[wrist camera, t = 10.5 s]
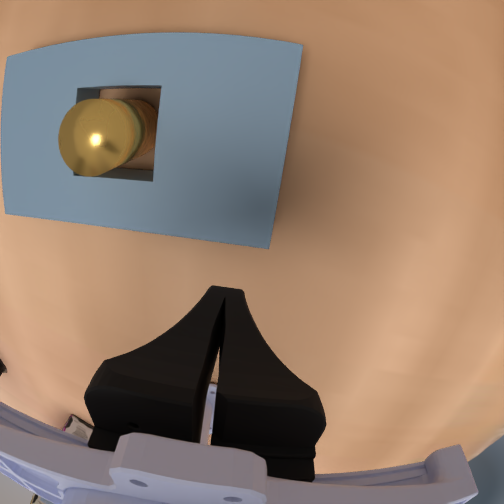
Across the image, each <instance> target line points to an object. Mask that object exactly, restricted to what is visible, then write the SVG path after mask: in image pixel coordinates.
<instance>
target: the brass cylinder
mask: <svg viewBox="0 0 504 504" xmlns="http://www.w3.org/2000/svg"><path fill="white" fill-rule="evenodd" d="M157 123H158V114H157V112H156V110H155V109H154V108H153V107H152V106H151V105H150V104H148V103H147V102H144V101H142V100H132V99H87V100H83V101H81V102H79V103H77V104H76V105H74V106H73V107H72V108H71V109H70V110H69V111H68V112H67V113H66V115H65V116H64V118H63V120H62V123H61V125H60V129H59V134H58V145H59V150H60V154H61V156H62V158H63V160H64V162H65V163H66V165H67V166H68V167H69V168H70V169H71V170H72V171H74V172H75V173H77V174H79V175H82V176H87V177H93V176H98V175H101V174H103V173H105V172H107V171H109V170H111V169H113V168H115V167H117V166H120V165H122V164H124V163H126V162H128V161H130V160H133V159H135V158H137V157H139V156H142V155H144V154H146V153H147V152H149V151H150V150H151V149H152V148H153V147H154V145H155V144H156V134H157Z"/></svg>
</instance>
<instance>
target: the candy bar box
mask: <svg viewBox="0 0 504 504" xmlns="http://www.w3.org/2000/svg"><path fill="white" fill-rule="evenodd" d="M93 428H94V427H92V426H90V425H89V424H87V423H85V422H84V421H82V420H80V419H79V418H77V417H75V416H74V415H71V416H70V417H69V419H68V421H67V423H66V424H65V426H64V428H63V429H62V431H65V432H67V433H70V434H73V435H75V436H78V437H81V438H84V439H86V440H89V438H90V436H91V433H92V431H93ZM30 504H54V503H52V502H50V501H48V500H46V499H44V498H42V497H40V496H39V495H37V494H35V493H34V494H33V497H32V500H31V503H30Z"/></svg>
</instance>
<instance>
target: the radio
mask: <svg viewBox="0 0 504 504" xmlns="http://www.w3.org/2000/svg"><path fill="white" fill-rule="evenodd" d="M2 373H7V369H6V367H5V365H4V364H3V362H2V361H1V359H0V376H1V374H2Z"/></svg>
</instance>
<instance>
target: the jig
mask: <svg viewBox="0 0 504 504" xmlns="http://www.w3.org/2000/svg"><path fill="white" fill-rule="evenodd" d="M302 49H303V45H301V44H296V43H290V42H285V41H278V40H272V39H265V38H257V37H248V36H239V35H227V34H212V33H142V34H127V35H116V36H106V37H98V38H91V39H84V40H78V41H72V42H66V43H61V44H56V45H51V46H47V47H42V48H38V49H34V50H30V51H26V52H22V53H19V54H15V55H12V56H8V57H7V61H6V68H5V76H4V85H3V96H2V111H1V171H2V186H3V197H4V207H5V214H10V215H18V216H26V217H34V218H41V219H49V220H57V221H64V222H72V223H80V224H87V225H95V226H102V227H110V228H117V229H125V230H132V231H140V232H147V233H155V234H162V235H170V236H177V237H184V238H192V239H199V240H206V241H214V242H221V243H228V244H235V245H243V246H250V247H257V248H264V249H269V247H270V241H271V235H272V230H273V224H274V219H275V213H276V207H277V202H278V196H279V190H280V184H281V179H282V173H283V167H284V161H285V155H286V149H287V143H288V137H289V131H290V125H291V119H292V113H293V107H294V100H295V94H296V88H297V82H298V75H299V69H300V62H301V56H302ZM119 88H161V96H160V104H159V113H158V123H157V134H156V145H155V159H154V171H151V170H139V169H126V168H113V169H111V170H109V171H107V172H105V173H103V174H101V175H98V176H93V177H87V176H82V175H79V174H77V173H75V172H74V171H72V170H71V169H70V168H69V167H68V166H67V165H66V163H65V162H64V160H63V158H62V156H61V154H60V150H59V145H58V134H59V129H60V125H61V123H62V120H63V118H64V116H65V115H66V113H67V112H68V111H69V110H70V109H71V108H72V107H73V106H74V105H76V104H77V103H79V102H81V101H83V100H87V99H99V91H100V89H119Z"/></svg>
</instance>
